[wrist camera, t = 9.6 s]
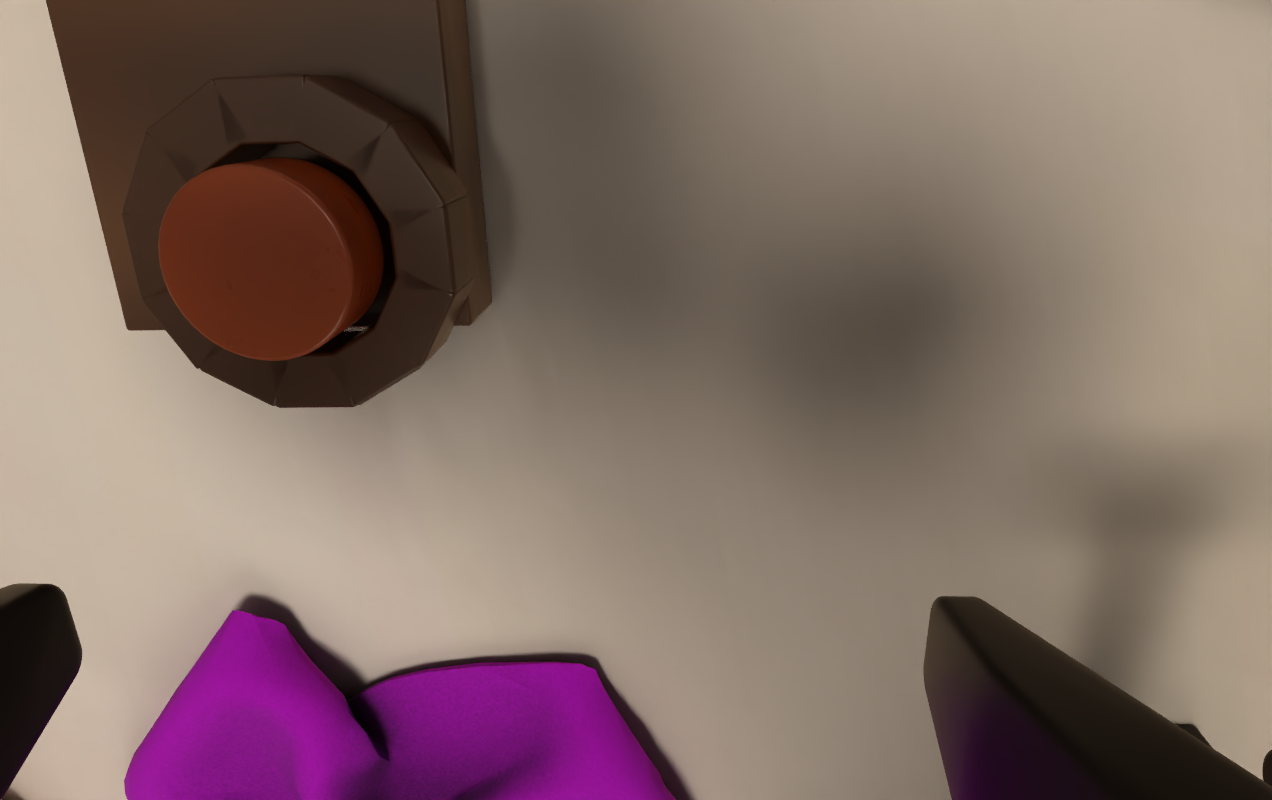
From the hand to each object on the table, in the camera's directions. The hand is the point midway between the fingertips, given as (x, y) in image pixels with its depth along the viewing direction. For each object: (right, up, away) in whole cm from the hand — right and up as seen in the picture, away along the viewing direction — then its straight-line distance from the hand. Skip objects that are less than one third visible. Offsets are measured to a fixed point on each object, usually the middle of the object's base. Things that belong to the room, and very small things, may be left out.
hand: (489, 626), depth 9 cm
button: (-5, +5, +8) cm, 11 cm away
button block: (-6, +9, +11) cm, 15 cm away
